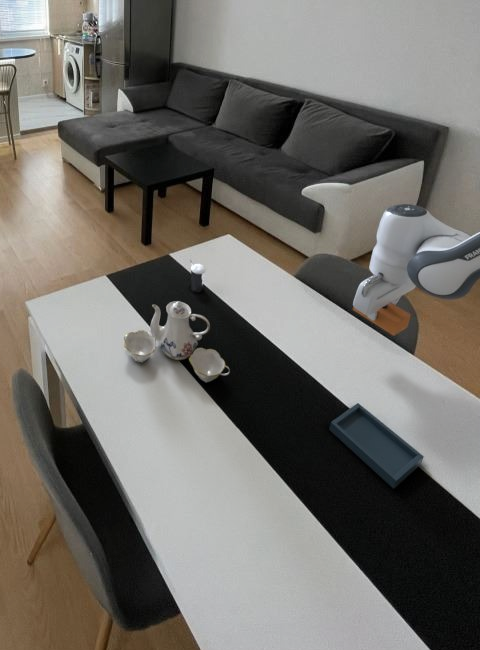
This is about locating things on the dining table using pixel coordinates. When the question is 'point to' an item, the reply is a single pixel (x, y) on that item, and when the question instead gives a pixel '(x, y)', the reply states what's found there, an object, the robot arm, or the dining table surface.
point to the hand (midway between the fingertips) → (380, 312)
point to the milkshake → (197, 276)
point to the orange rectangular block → (390, 318)
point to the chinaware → (176, 341)
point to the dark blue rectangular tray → (376, 445)
